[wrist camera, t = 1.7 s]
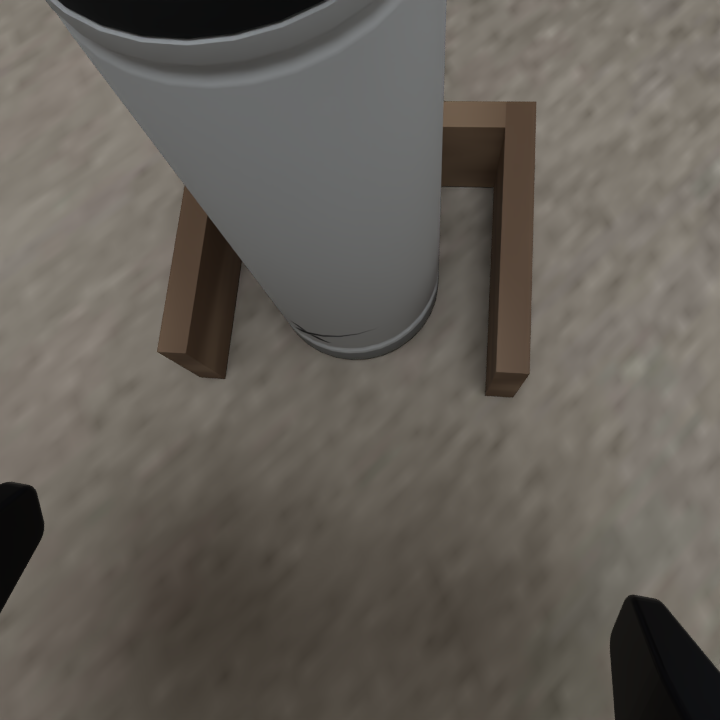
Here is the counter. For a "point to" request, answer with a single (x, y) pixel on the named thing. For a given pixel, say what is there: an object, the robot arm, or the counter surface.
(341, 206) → the travel mug
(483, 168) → the walnut caddy
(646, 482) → the counter surface
